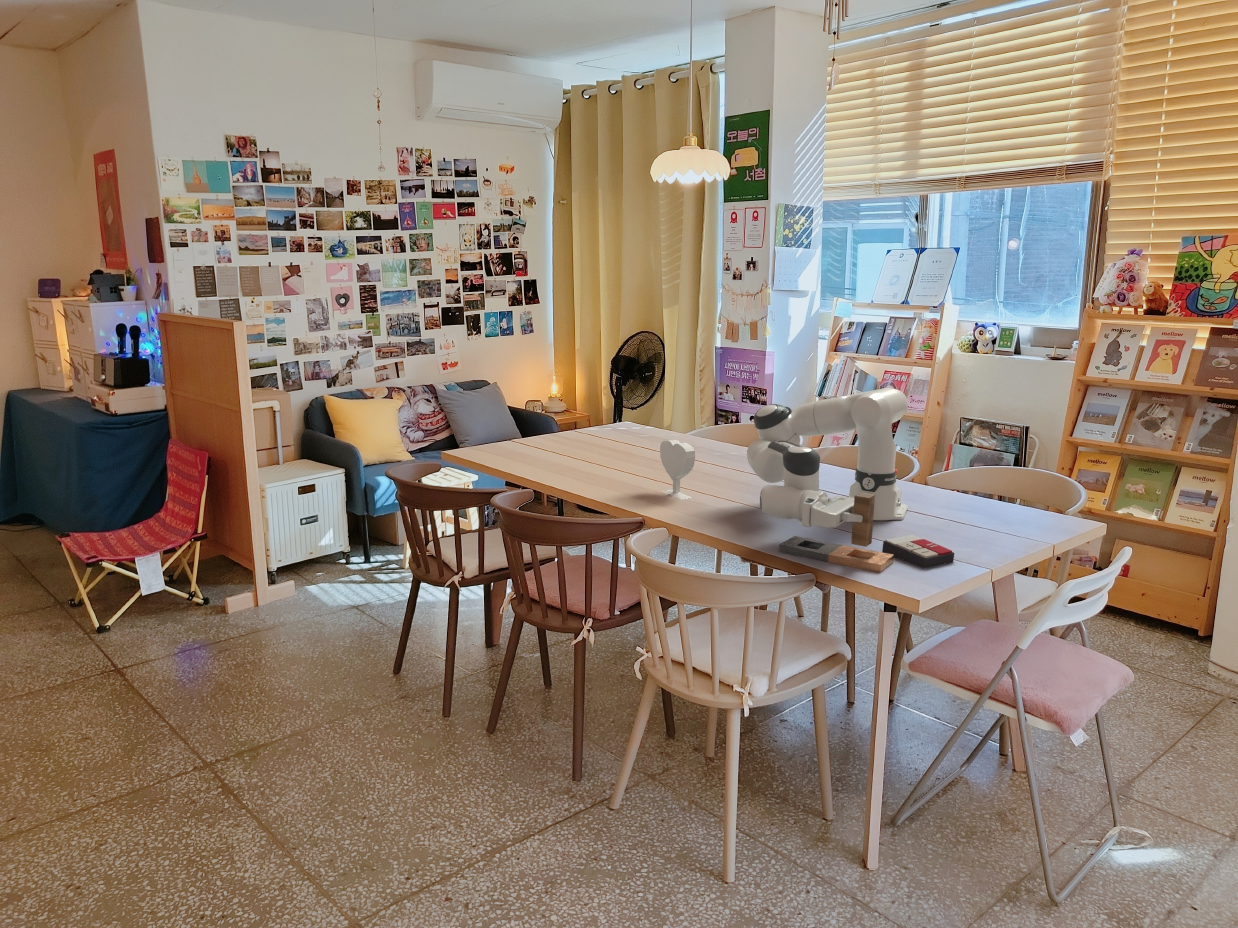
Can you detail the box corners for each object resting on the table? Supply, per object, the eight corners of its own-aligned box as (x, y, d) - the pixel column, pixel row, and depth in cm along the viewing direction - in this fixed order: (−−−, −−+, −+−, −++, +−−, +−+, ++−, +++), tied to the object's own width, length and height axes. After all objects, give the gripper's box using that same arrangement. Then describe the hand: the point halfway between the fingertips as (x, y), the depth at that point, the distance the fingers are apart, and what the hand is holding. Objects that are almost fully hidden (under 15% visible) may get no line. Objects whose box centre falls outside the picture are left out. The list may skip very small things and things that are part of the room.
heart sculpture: (695, 498, 298) (697, 445, 294) (683, 500, 296) (684, 446, 292) (669, 488, 311) (670, 437, 307) (657, 490, 309) (658, 438, 305)
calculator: (926, 556, 232) (882, 537, 244) (923, 572, 233) (881, 552, 245) (955, 550, 237) (912, 532, 250) (953, 565, 238) (910, 547, 251)
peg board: (794, 542, 253) (794, 535, 252) (893, 561, 237) (894, 554, 237) (778, 551, 245) (779, 544, 244) (880, 572, 229) (881, 564, 229)
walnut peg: (856, 540, 239) (860, 492, 236) (871, 543, 236) (875, 494, 234) (851, 543, 235) (854, 495, 233) (866, 546, 233) (869, 497, 230)
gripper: (830, 510, 250) (879, 518, 243) (800, 527, 234) (851, 537, 226) (831, 488, 249) (881, 496, 241) (801, 504, 233) (853, 512, 225)
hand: (866, 516), depth 234 cm, fingers closed on walnut peg, 4 cm apart
